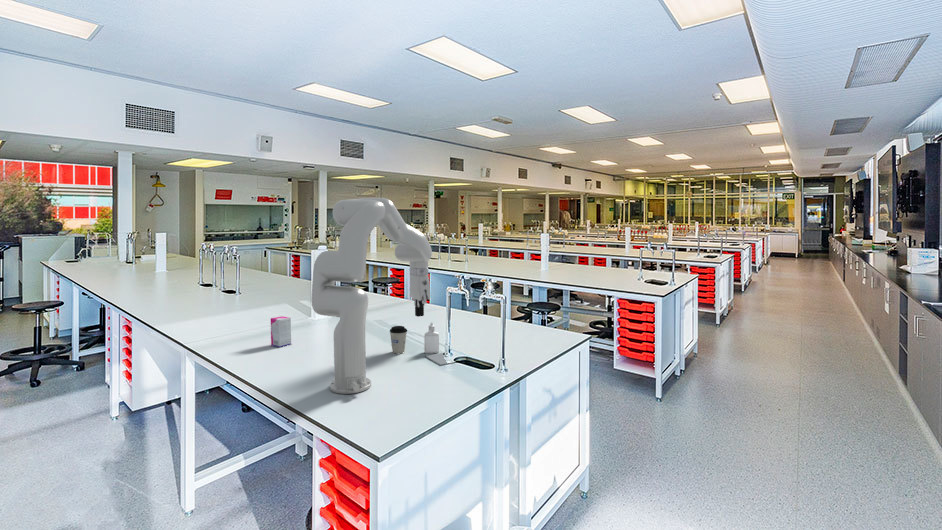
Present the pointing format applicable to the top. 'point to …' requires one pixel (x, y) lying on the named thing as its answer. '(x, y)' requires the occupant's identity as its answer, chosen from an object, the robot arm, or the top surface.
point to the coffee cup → (398, 338)
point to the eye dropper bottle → (431, 340)
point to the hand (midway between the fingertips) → (419, 315)
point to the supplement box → (280, 331)
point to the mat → (437, 358)
